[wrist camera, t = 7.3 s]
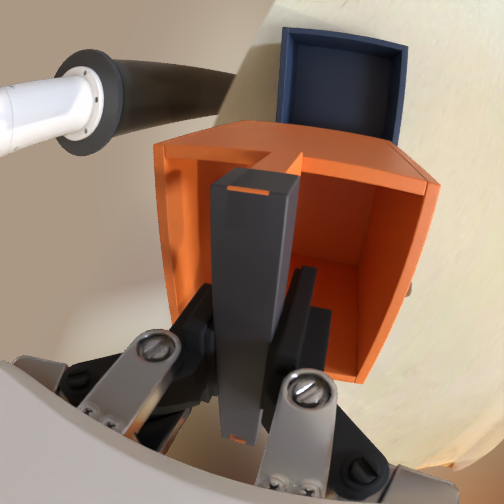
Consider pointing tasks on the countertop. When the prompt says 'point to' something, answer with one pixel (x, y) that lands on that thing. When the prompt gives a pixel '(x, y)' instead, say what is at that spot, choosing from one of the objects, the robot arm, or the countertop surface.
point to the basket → (288, 243)
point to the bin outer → (342, 82)
